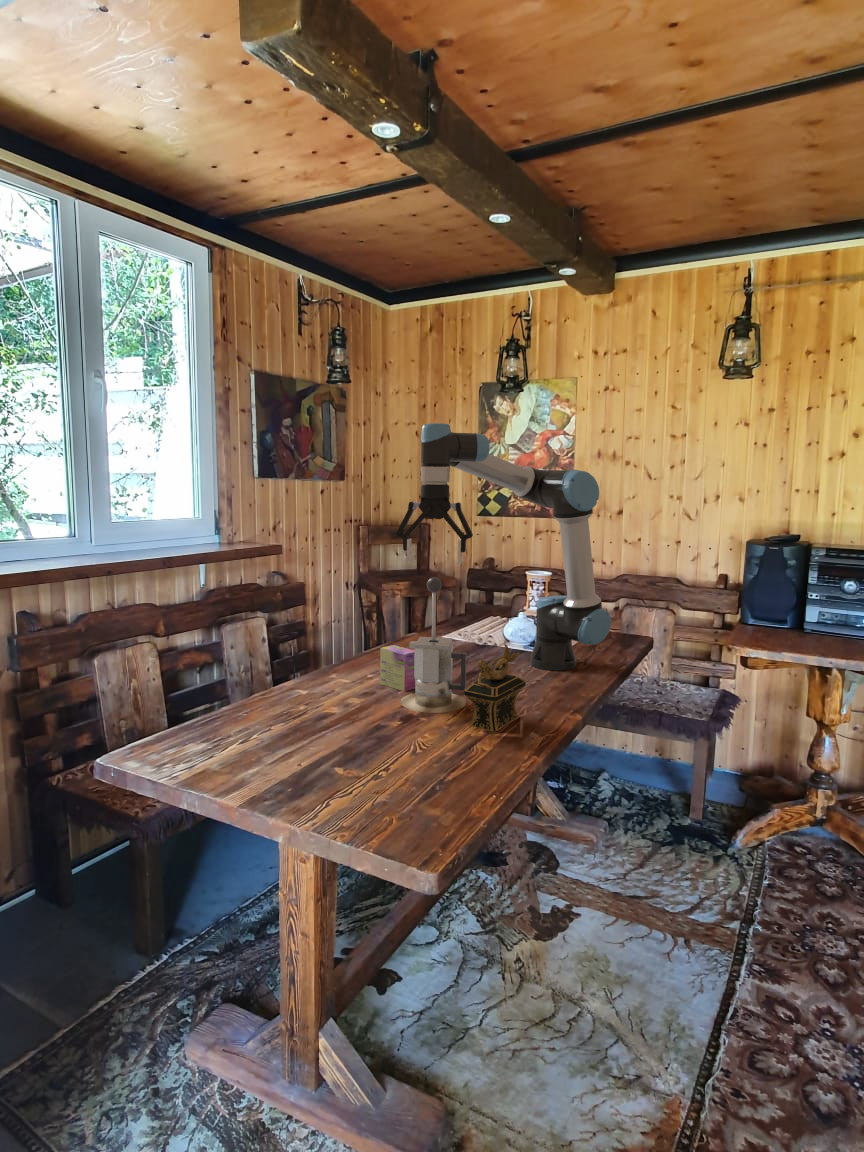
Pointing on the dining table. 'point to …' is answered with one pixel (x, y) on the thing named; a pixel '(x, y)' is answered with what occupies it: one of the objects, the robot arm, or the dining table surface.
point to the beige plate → (455, 705)
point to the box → (397, 667)
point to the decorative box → (494, 694)
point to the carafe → (436, 671)
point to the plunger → (434, 601)
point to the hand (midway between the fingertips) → (434, 563)
